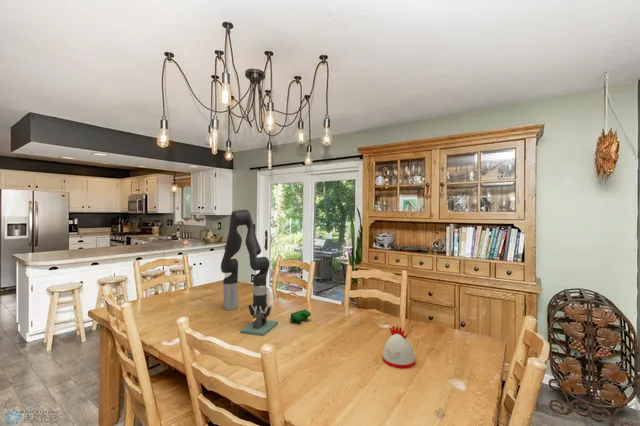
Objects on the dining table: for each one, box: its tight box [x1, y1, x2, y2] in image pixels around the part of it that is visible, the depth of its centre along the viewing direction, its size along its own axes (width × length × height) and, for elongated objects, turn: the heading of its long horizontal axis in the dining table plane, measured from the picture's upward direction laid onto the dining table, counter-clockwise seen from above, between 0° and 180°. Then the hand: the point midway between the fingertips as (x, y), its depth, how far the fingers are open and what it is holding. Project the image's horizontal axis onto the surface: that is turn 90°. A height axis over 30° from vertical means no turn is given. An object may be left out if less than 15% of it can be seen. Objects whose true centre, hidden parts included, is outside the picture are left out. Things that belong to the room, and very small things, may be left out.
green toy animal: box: [289, 309, 312, 325], centre depth 183 cm, size 12×6×9 cm, turn 129°
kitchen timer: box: [382, 325, 416, 370], centre depth 136 cm, size 14×14×15 cm
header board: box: [239, 319, 279, 337], centre depth 173 cm, size 18×14×6 cm
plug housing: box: [251, 310, 268, 329], centre depth 171 cm, size 12×4×7 cm, turn 163°
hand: (259, 323), depth 173 cm, fingers closed on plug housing, 3 cm apart
